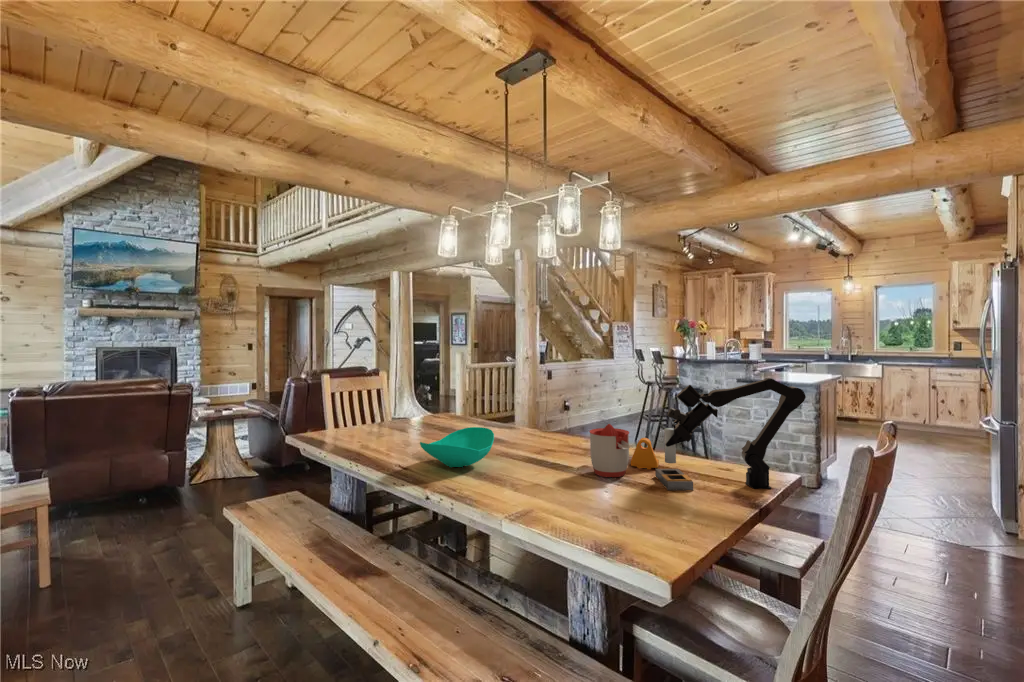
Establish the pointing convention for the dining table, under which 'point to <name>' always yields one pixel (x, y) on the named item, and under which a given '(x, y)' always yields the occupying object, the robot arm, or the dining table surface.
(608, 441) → the citrus juicer
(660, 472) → the grey boxy holed piece
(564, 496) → the dining table surface
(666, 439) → the peg
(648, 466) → the bracket
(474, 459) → the table top decor
